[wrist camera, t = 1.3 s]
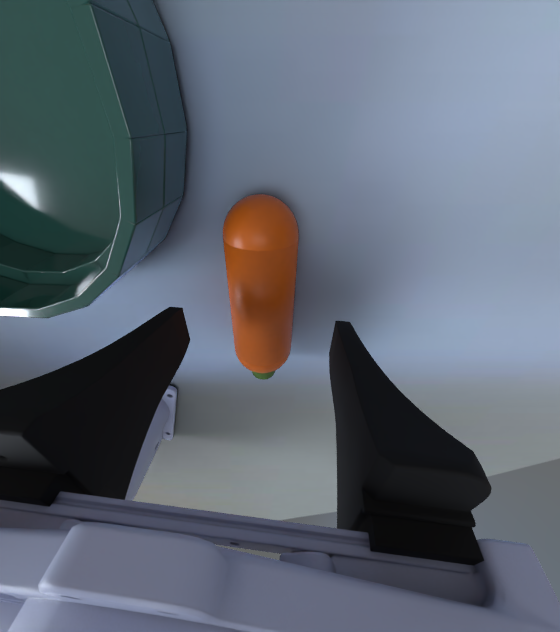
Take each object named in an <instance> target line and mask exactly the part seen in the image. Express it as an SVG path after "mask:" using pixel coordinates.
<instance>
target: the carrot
mask: <svg viewBox="0 0 560 632" xmlns="http://www.w3.org/2000/svg"><path fill="white" fill-rule="evenodd" d="M298 240H299V230H298V225H297V221H296V219H295V217H294V215H293V213H292V211H291V210H290V209H289V207H288V206H287V205H285V204H284V203H283V202H282V201H281V200H279V199H277V198H275V197H273V196H269V195H265V194H256V195H251V196H247V197H245V198H243V199H241V200H240V201H238V202H237V203H236V204H235V205H234V206H233V207H232V208H231V210H230V211H229V212H228V214H227V216H226V219H225V222H224V227H223V242H224V251H225V260H226V270H227V279H228V288H229V298H230V307H231V316H232V325H233V335H234V344H235V351H236V355H237V357H238V359H239V361H240V362H241V363H242V364H243V365H244V366H245V367H246V368H247V369H249V370H251V371H252V373H253V375H254V376H255V377H256V378H258V379H268V378H270V377H272V376H273V375H274V373H275V370H277V369H278V368H280V367H281V366H282V365H283V364H284V363H285V362H286V360H287V358H288V356H289V354H290V350H291V339H292V325H293V311H294V297H295V283H296V269H297V255H298Z"/></svg>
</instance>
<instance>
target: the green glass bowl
mask: <svg viewBox="0 0 560 632" xmlns="http://www.w3.org/2000/svg"><path fill="white" fill-rule="evenodd" d="M186 131H187V127H186V121H185V116H184V111H183V106H182V101H181V96H180V91H179V85H178V80H177V75H176V70H175V65H174V60H173V55H172V49H171V44H170V43H169V39H168V36H167V34H166V31H165V29H164V27H163V24H162V22H161V19H160V17H159V15H158V12H157V10H156V8H155V5H154V3H153V0H0V316H8V317H31V318H50V317H53V316H57V315H60V314H64V313H67V312H70V311H74V310H77V309H80V308H84V307H87V306H89V305H90V304H91V303H93V302H94V301H95V300H96V299H97V298H99V297H100V296H101V295H102V294H103V293H104V292H106V291H107V290H108V289H109V288H110V287H111V286H113V285H114V284H115V283H116V282H117V281H118V280H120V279H121V278H122V277H123V276H124V275H126V274H127V273H128V272H129V271H130V270H131V269H133V268H134V267H135V266H136V265H137V264H138V263H140V262H141V261H142V260H143V259H144V258H145V257H146V256H147V255H148V254H149V253H150V252H151V251H152V250H153V249H155V248H156V247H157V246H158V245H159V244H160V243H161V242H162V241H163V240H164V239H165V237H166V235H167V233H168V231H169V228H170V226H171V223H172V221H173V219H174V216H175V214H176V212H177V209H178V207H179V204H180V202H181V200H182V197H183V190H184V174H185V157H186V141H187V132H186Z"/></svg>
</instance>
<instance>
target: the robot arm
mask: <svg viewBox="0 0 560 632" xmlns="http://www.w3.org/2000/svg"><path fill="white" fill-rule="evenodd" d="M189 342H190V337H189V333H188V329H187V325H186V321H185V317H184V313H183V309H182V308H178V307H169V308H167V309H165V310H164V311H162V312H161V313H159V314H158V315H156V316H155V317H153V318H152V319H150V320H149V321H147V322H146V323H144V324H142V325H141V326H139V327H138V328H136V329H135V330H133V331H132V332H130V333H128V334H127V335H125V336H123V337H122V338H120V339H118V340H117V341H115V342H113V343H112V344H110V345H108V346H106V347H105V348H103V349H101V350H99V351H97V352H95V353H93V354H91V355H89V356H87V357H85V358H83V359H81V360H78V361H76V362H74V363H71V364H69V365H67V366H65V367H62V368H60V369H58V370H55V371H53V372H50V373H48V374H45V375H42V376H40V377H37V378H34V379H31V380H29V381H26V382H23V383H20V384H17V385H14V386H11V387H7V388H4V389H1V390H0V632H560V602H559V601H558V599H557V597H556V595H555V593H554V591H553V589H552V587H551V585H550V583H549V581H548V579H547V577H546V575H545V573H544V571H543V569H542V567H541V565H540V563H539V561H538V559H537V557H536V555H535V553H534V551H533V549H532V547H531V546H530V545H528V544H525V543H518V542H511V541H503V540H495V539H479V540H476V538H475V535H474V532H473V530H472V527H475V520H474V518H473V515H472V513H471V510H472V509H474V508H475V507H476V506H478V505H479V504H480V503H482V502H483V501H484V500H485V499H486V498H487V497H488V496H489V495H490V493H491V486H490V484H489V482H488V479H487V477H486V475H485V472H484V470H483V468H482V466H481V464H480V463H479V461H478V459H477V457H476V456H475V454H474V452H473V451H472V450H470V449H469V448H468V447H466V446H465V445H464V444H462V443H461V442H460V441H458V440H457V439H455V438H454V437H453V436H451V435H450V434H449V433H447V432H446V431H445V430H443V429H442V428H441V427H440V426H438V425H437V424H436V423H435V422H433V421H432V420H431V419H430V418H429V417H427V416H426V415H425V414H424V413H423V412H422V411H420V410H419V409H418V408H417V407H416V406H415V405H414V404H413V403H412V402H411V401H410V400H409V399H408V398H406V397H405V396H404V395H403V394H402V393H401V392H400V391H399V390H398V388H397V387H396V386H395V385H394V384H393V383H392V382H391V381H390V380H389V378H388V377H387V376H386V375H385V374H384V372H383V371H382V370H381V369H380V367H379V366H378V365H377V363H376V362H375V361H374V359H373V358H372V357H371V355H370V354H369V352H368V351H367V349H366V348H365V346H364V345H363V343H362V342H361V340H360V338H359V337H358V335H357V333H356V332H355V330H354V328H353V326H352V325H351V323H350V322H346V321H336V322H335V327H334V332H333V337H332V342H331V347H330V352H329V366H330V380H331V388H332V395H333V403H334V410H335V419H336V440H337V528H330V527H322V526H315V525H307V524H300V523H293V522H285V521H278V520H270V519H263V518H255V517H248V516H241V515H233V514H226V513H218V512H211V511H203V510H196V509H188V508H181V507H174V506H166V505H159V504H151V503H144V502H136V501H132V500H133V499H134V497H135V495H136V493H137V491H138V489H139V487H140V485H141V483H142V481H143V479H144V476H145V474H146V472H147V470H148V468H149V466H150V464H151V461H152V459H153V457H154V455H155V453H156V451H157V449H158V446H159V444H160V442H161V440H162V439H166V440H171V439H172V438H173V435H174V423H175V411H176V399H177V389H176V388H175V387H173V386H169V384H170V382H171V381H172V379H173V377H174V375H175V373H176V371H177V370H178V368H179V366H180V364H181V362H182V360H183V358H184V356H185V353H186V351H187V348H188V345H189ZM215 544H216V545H224V546H230V547H237V548H244V549H251V550H258V551H265V552H273V553H279V554H281V555H280V560H276V559H271V558H267V557H263V556H258V555H254V554H249V553H245V552H241V551H237V550H232V549H228V548H223V547H219V546H216V545H215Z"/></svg>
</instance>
